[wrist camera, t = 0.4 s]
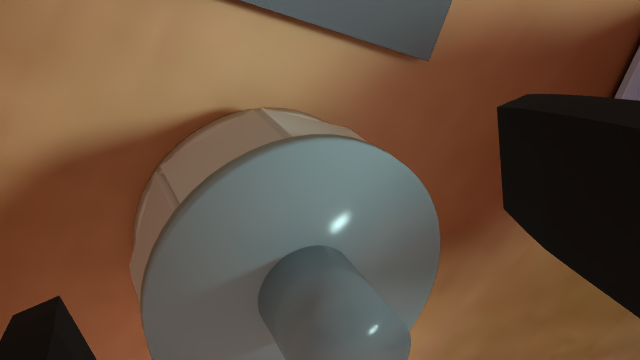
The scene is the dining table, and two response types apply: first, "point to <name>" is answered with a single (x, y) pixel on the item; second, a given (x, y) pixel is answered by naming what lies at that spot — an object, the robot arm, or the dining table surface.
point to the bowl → (210, 166)
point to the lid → (294, 257)
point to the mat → (373, 20)
